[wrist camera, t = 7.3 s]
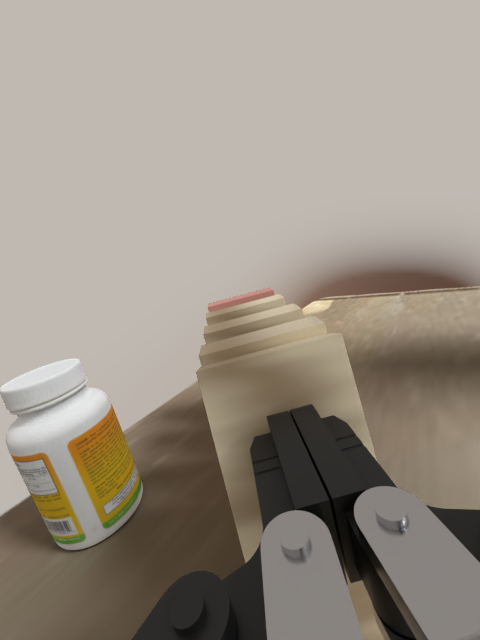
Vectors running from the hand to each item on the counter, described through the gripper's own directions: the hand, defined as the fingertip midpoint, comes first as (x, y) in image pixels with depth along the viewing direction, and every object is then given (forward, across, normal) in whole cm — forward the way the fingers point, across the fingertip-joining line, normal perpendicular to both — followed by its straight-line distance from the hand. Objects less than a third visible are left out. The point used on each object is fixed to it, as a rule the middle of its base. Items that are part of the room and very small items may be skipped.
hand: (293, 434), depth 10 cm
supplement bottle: (+8, +12, +8) cm, 16 cm away
